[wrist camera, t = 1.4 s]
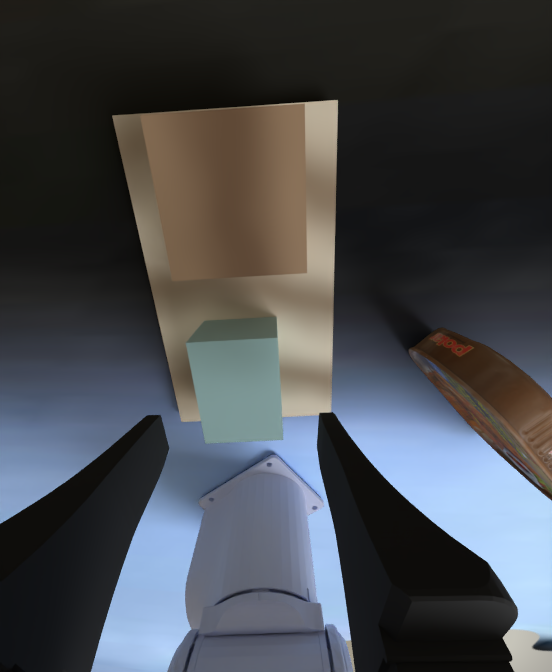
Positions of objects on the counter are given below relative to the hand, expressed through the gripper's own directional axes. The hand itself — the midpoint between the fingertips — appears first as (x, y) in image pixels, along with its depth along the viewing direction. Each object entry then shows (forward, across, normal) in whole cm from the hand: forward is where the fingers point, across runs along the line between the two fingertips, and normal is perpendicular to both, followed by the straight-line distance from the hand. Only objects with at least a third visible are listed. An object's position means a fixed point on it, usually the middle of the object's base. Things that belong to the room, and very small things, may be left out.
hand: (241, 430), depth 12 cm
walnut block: (+8, 0, -9) cm, 12 cm away
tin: (+9, -16, +4) cm, 19 cm away
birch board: (+9, 0, -4) cm, 10 cm away
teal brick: (+8, +1, +1) cm, 8 cm away
